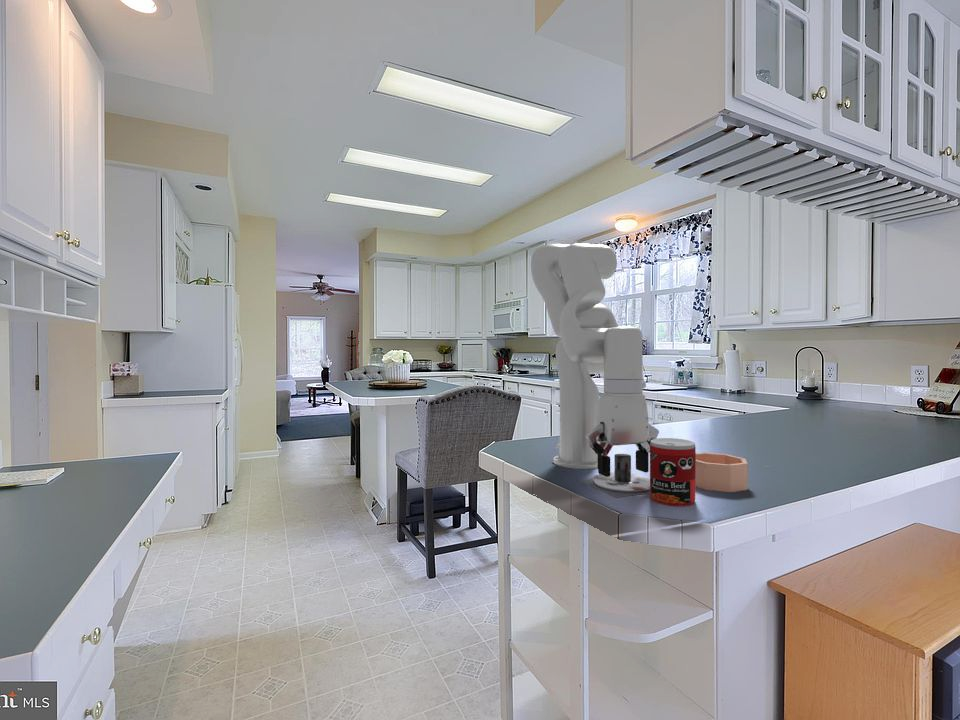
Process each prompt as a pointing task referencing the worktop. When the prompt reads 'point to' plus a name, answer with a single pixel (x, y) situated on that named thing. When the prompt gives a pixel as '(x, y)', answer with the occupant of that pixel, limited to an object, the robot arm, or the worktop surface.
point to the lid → (622, 478)
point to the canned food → (672, 471)
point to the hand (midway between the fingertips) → (623, 472)
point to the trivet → (614, 494)
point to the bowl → (721, 472)
